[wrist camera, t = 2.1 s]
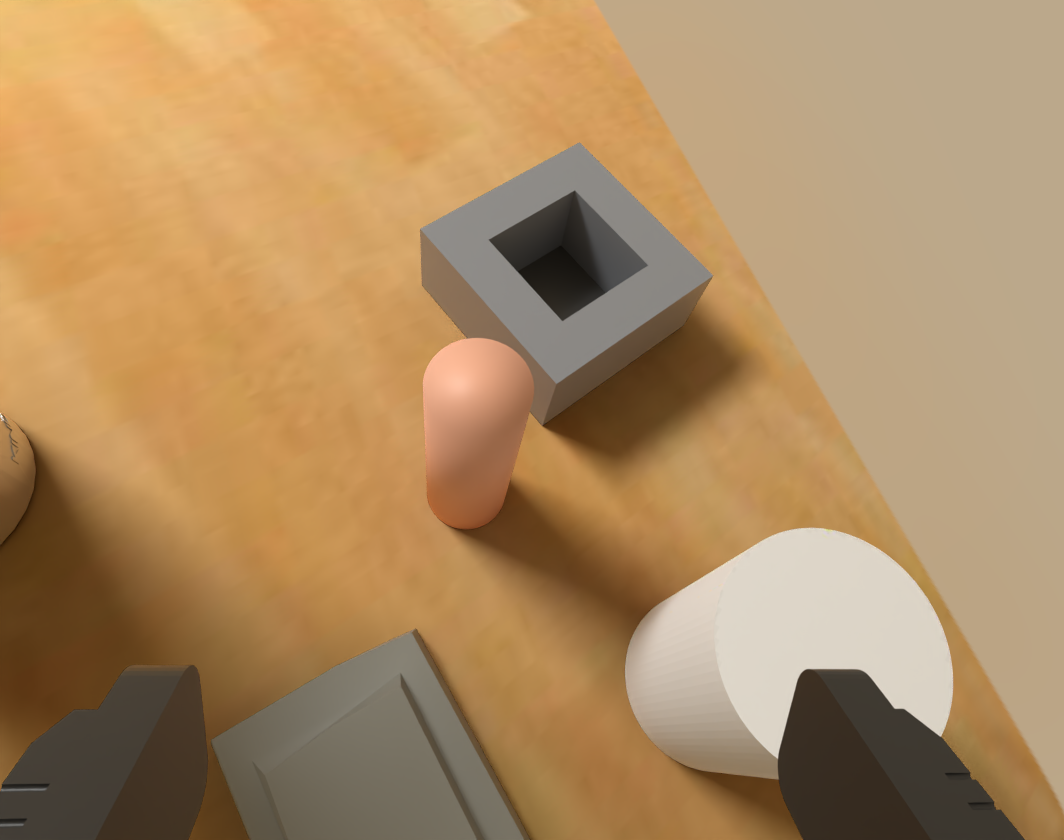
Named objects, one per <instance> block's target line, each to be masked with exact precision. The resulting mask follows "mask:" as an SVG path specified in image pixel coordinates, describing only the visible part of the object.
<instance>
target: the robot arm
mask: <svg viewBox="0 0 1064 840" xmlns="http://www.w3.org/2000/svg"><path fill="white" fill-rule="evenodd" d="M35 474H36V467H35V460H34V453H33V450H32V448H31V446H30V443H29V441H28V439H27V436H26V435H25V434H24V433H23V432H22V430H21V429H20V428H19V427H18V425H17V424H16V423H15V422H14V421H12V420H11V419H10V418H8V417H7V416H6V415H4V414H3V413H2V412H1V411H0V545H1V544H2V543H3V541H4V540H5V539H6V538H7V537H8V536H9V535H10V534H11V532H12V531H13V530H14V529H15V528H16V526H17V524H18V523H19V521H20V519H21V518H22V516H23V514H24V513H25V511H26V509H27V507H28V504H29V501H30V498H31V496H32V493H33V490H34V482H35ZM207 770H208V755H207V745H206V735H205V725H204V715H203V705H202V696H201V686H200V677H199V673H198V670H197V668H196V667H195V666H193V665H131V666H129V667H127V668H126V669H125V670H124V671H123V672H122V673H121V675H120V676H119V678H118V679H117V681H116V682H115V684H114V685H113V687H112V689H111V690H110V692H109V693H108V695H107V696H106V698H105V699H104V701H103V702H102V704H101V706H100V707H99V709H98V710H73V711H72V712H71V713H69V714H68V715H67V716H66V717H64V718H63V719H62V720H60V721H59V722H58V723H57V724H55V725H54V726H53V727H52V728H50V729H49V730H48V731H47V732H45V733H44V734H43V735H41V736H40V737H39V738H38V739H36V740H35V741H34V742H33V743H31V745H30V746H29V747H28V749H27V750H26V752H25V753H24V754H23V756H22V757H21V758H20V760H19V761H18V763H17V764H16V765H15V767H14V768H13V770H12V771H11V772H10V774H9V775H8V776H7V778H6V779H5V781H4V782H3V783H2V788H1V791H0V840H188V839H189V836H190V834H191V831H192V829H193V826H194V823H195V821H196V818H197V816H198V813H199V810H200V807H201V804H202V800H203V796H204V791H205V786H206V780H207ZM778 777H779V784H780V788H781V792H782V795H783V798H784V801H785V803H786V806H787V808H788V810H789V812H790V814H791V816H792V818H793V820H794V822H795V824H796V826H797V828H798V830H799V832H800V834H801V836H802V838H803V840H1025V839H1024V838H1023V837H1022V836H1021V834H1020V833H1019V832H1018V831H1017V829H1016V828H1015V827H1014V826H1013V825H1012V823H1011V822H1010V821H1009V820H1008V818H1007V817H1006V816H1005V815H1004V813H1003V812H1002V811H1001V810H996V809H995V807H994V801H993V800H992V799H991V797H990V796H989V795H988V794H987V793H986V791H985V790H984V789H983V788H982V786H981V785H980V784H979V783H978V782H977V780H972V779H971V777H970V772H969V770H968V769H967V768H966V767H965V766H964V764H963V763H962V762H961V761H960V759H959V758H958V757H957V756H956V754H955V753H954V752H953V751H952V750H951V748H950V747H949V746H948V745H947V743H946V742H945V741H944V740H943V738H942V737H940V736H939V735H938V734H936V733H935V732H934V731H932V730H931V729H930V728H929V727H927V726H926V725H925V724H923V723H922V722H921V721H919V720H918V719H917V718H915V717H914V716H913V715H912V714H910V713H909V712H908V711H906V710H905V709H895V708H894V707H893V706H892V704H891V703H890V702H889V701H888V699H887V698H886V697H885V695H884V694H883V693H882V692H881V690H880V689H879V688H878V686H877V685H876V684H875V682H874V681H873V680H872V679H871V677H870V676H869V675H868V674H867V673H865V672H864V671H862V670H859V669H806V670H804V671H803V672H802V673H801V674H800V676H799V678H798V680H797V684H796V687H795V691H794V695H793V699H792V703H791V707H790V711H789V714H788V718H787V722H786V726H785V730H784V734H783V737H782V741H781V745H780V749H779V754H778Z"/></svg>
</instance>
